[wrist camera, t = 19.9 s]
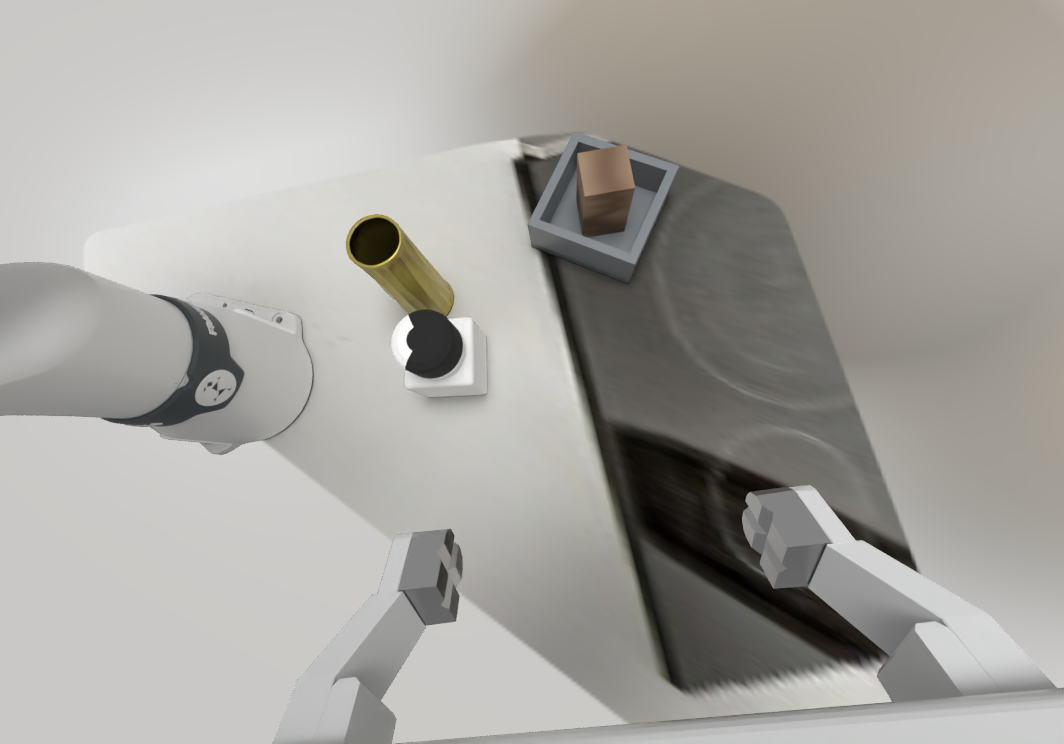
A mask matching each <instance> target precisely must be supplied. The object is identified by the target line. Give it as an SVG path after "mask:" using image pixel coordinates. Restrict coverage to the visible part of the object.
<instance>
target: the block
mask: <svg viewBox="0 0 1064 744" xmlns="http://www.w3.org/2000/svg"><path fill="white" fill-rule="evenodd" d="M634 190H635V185H634V180H633V175H632V170H631V165H630V160H629V154H628V149H627V145H621V146H615V147H610V148H604V149H598V150H593V151H587V152H582V153H577V193H576V202H577V208H578V214H579V221H580V227H581V233H582V236H585V237H593V236H599V235H605V234H611V233H617V232H623V231H625V227H626V223H627V219H628V215H629V211H630V206H631V202H632V198H633V194H634Z"/></svg>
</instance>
